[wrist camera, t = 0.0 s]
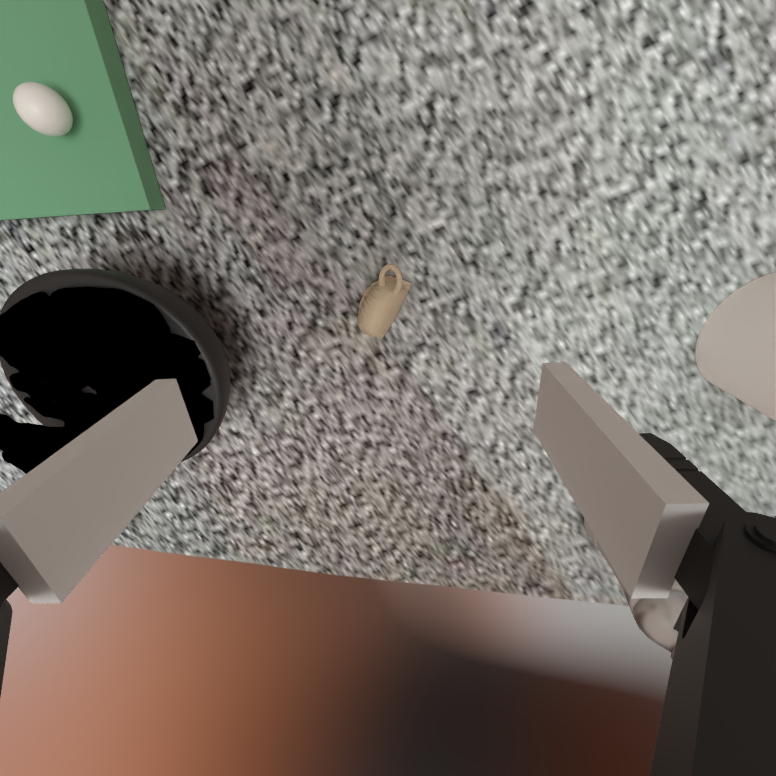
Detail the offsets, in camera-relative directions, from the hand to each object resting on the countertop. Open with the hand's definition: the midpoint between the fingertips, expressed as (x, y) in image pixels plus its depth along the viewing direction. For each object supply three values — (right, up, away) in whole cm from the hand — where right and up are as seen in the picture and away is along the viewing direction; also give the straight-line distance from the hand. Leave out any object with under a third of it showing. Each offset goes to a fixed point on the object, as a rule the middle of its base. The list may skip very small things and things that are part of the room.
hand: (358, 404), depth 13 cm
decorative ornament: (+1, +10, +26) cm, 28 cm away
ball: (-26, +23, +16) cm, 38 cm away
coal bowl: (-24, +6, +30) cm, 38 cm away
